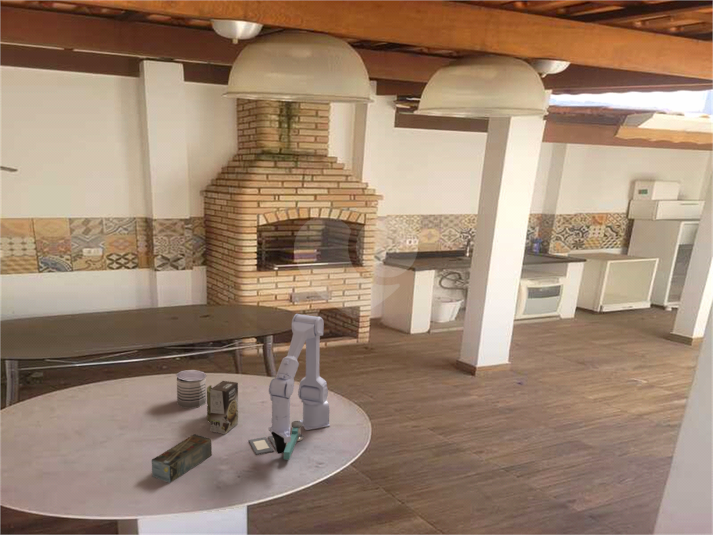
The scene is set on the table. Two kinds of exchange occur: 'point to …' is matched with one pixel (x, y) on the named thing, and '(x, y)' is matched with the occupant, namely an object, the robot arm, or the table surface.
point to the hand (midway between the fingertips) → (280, 452)
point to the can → (191, 388)
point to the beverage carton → (181, 458)
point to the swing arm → (292, 439)
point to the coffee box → (224, 406)
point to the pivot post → (299, 435)
